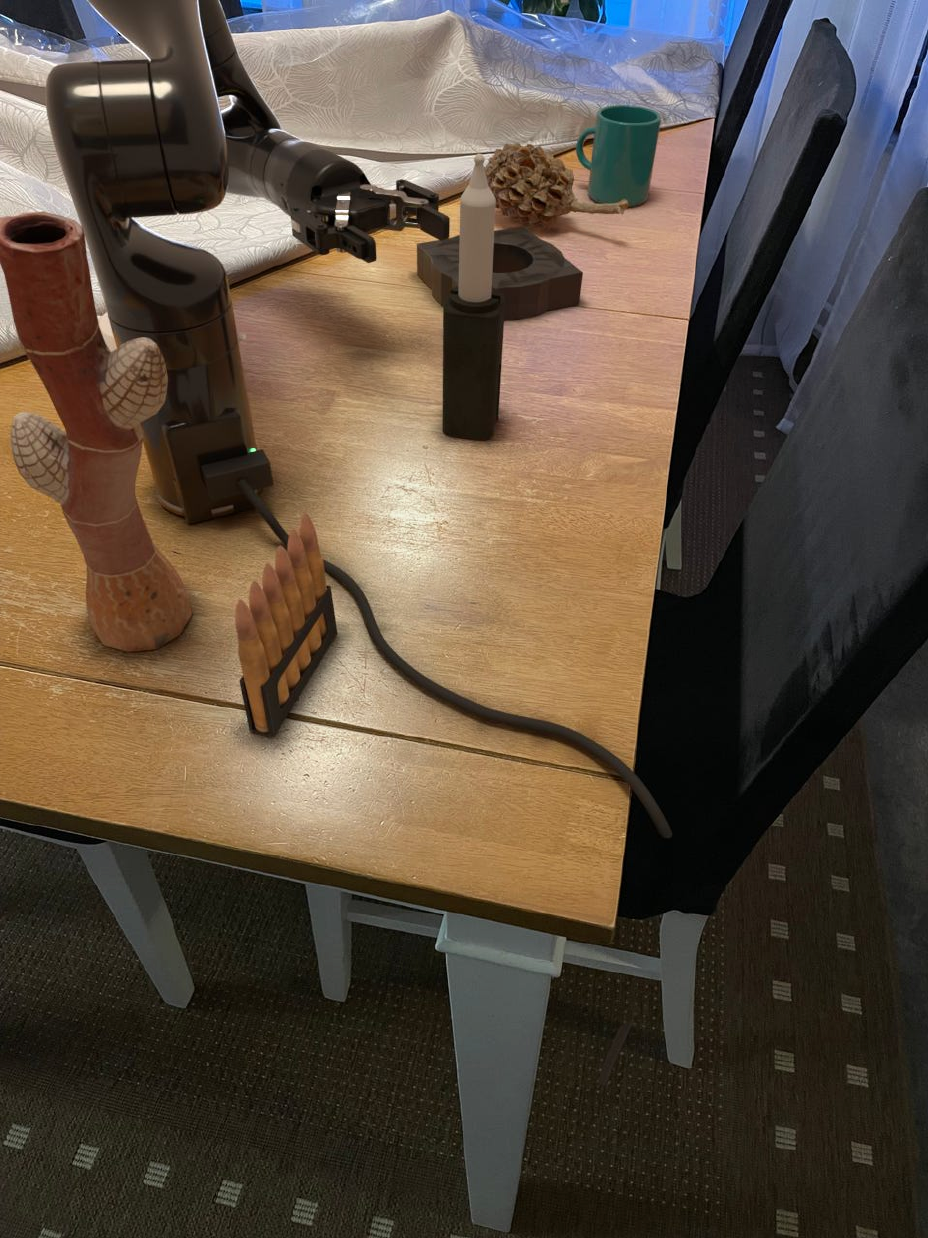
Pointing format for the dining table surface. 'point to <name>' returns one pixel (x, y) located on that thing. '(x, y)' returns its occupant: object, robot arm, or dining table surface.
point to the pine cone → (536, 186)
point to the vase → (90, 430)
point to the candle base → (508, 272)
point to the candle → (473, 321)
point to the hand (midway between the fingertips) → (410, 240)
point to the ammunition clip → (284, 630)
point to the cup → (621, 153)
